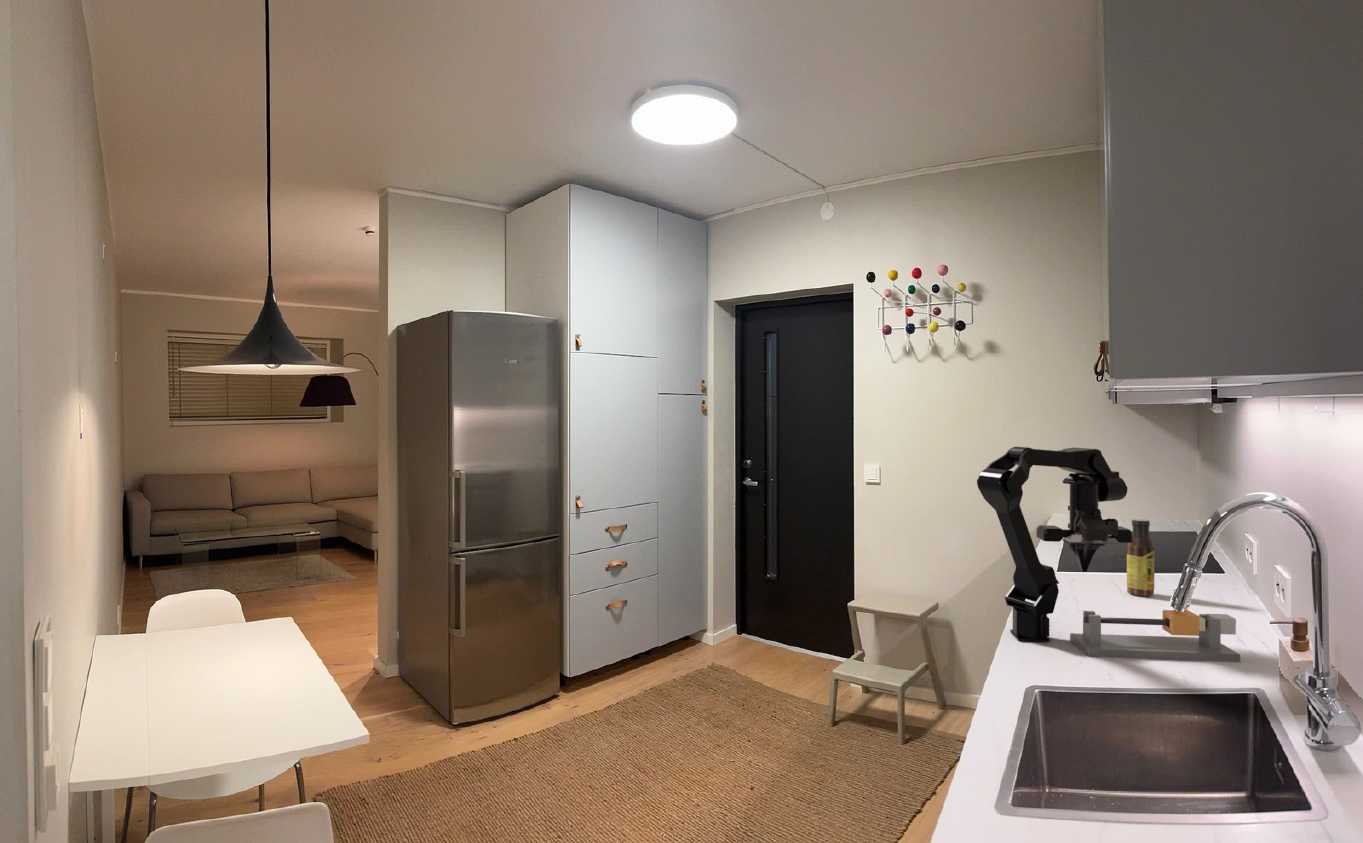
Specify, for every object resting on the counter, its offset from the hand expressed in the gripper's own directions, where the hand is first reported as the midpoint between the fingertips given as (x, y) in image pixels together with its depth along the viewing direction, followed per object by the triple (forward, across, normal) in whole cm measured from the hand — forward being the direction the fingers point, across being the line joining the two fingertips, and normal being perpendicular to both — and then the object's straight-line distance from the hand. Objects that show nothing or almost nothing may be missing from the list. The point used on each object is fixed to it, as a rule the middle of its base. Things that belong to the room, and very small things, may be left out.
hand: (1083, 571), depth 166 cm
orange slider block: (+9, +14, -14) cm, 21 cm away
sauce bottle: (+13, +26, +32) cm, 43 cm away
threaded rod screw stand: (+13, +8, -14) cm, 21 cm away
